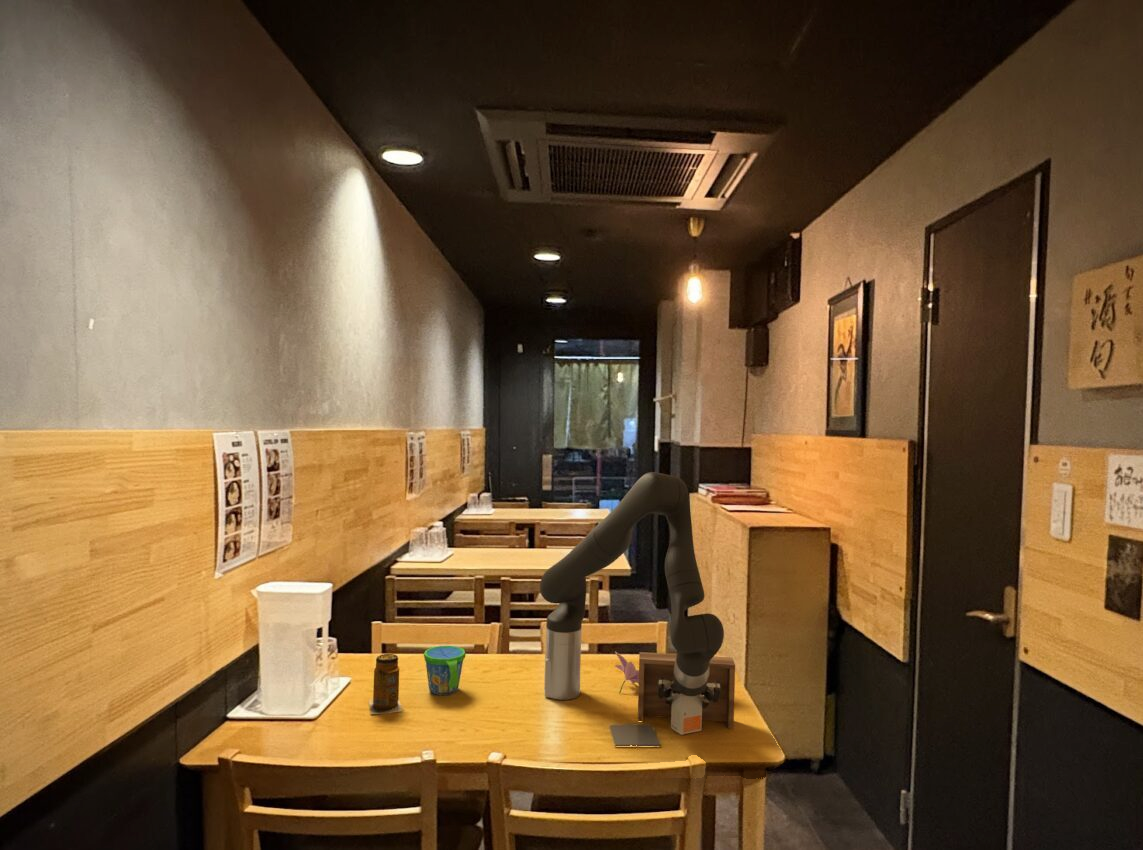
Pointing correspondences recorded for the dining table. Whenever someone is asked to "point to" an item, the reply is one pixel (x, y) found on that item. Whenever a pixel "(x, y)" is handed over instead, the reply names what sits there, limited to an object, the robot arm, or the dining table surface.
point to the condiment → (386, 685)
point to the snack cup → (444, 668)
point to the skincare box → (686, 714)
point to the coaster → (634, 735)
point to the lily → (628, 670)
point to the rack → (664, 667)
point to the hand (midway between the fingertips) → (686, 703)
